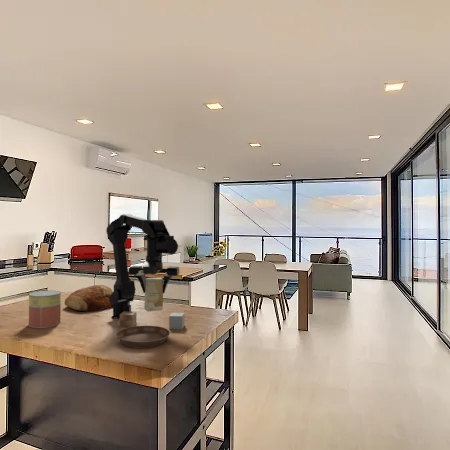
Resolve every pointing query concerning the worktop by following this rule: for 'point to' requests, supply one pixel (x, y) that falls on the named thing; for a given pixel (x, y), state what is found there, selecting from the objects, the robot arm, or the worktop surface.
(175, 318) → the slate grey block
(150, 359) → the worktop surface
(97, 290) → the bread
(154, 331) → the plant saucer
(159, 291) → the skincare box
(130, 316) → the walnut block
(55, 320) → the canned food
